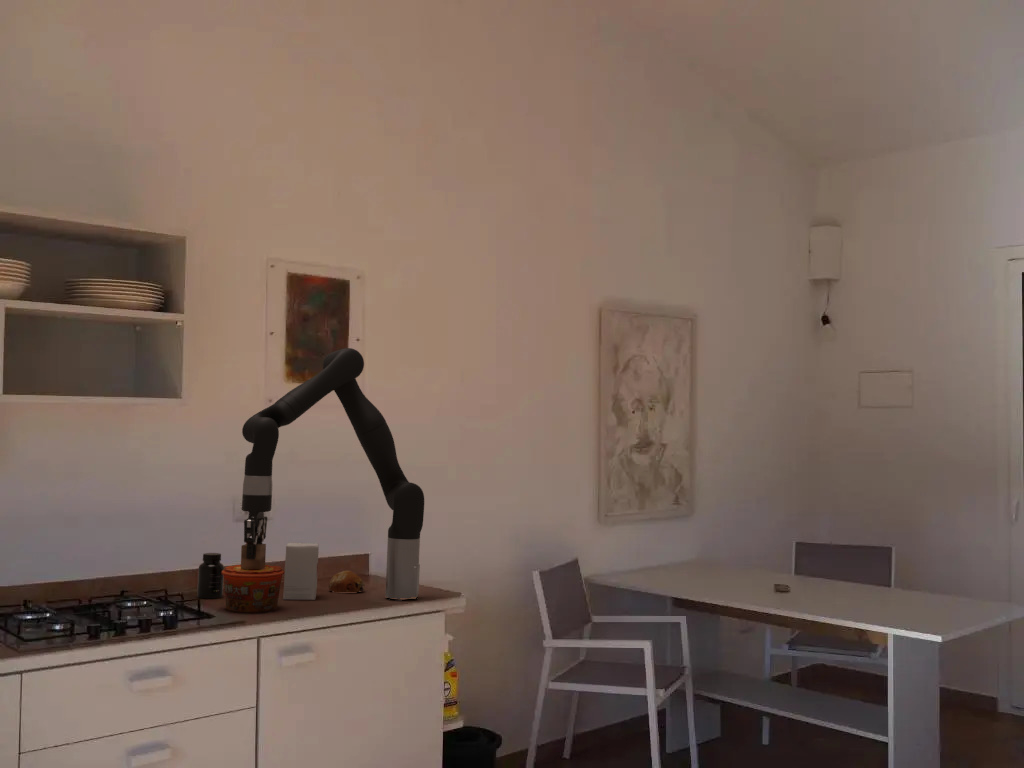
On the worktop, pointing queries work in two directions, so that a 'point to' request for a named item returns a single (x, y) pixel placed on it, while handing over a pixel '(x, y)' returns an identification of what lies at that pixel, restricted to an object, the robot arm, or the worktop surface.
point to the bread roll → (346, 582)
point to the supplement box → (301, 571)
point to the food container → (252, 588)
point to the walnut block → (253, 563)
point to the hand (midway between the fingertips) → (254, 557)
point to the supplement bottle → (210, 577)
